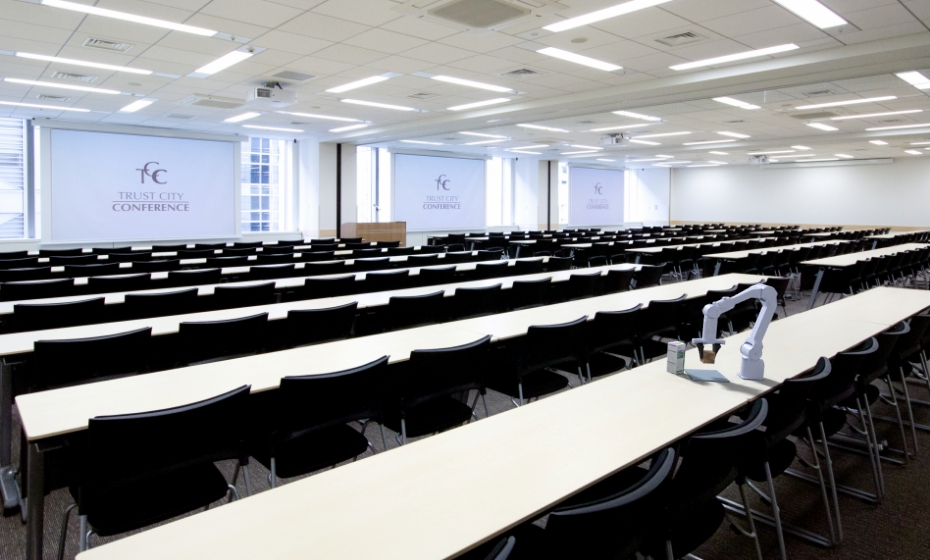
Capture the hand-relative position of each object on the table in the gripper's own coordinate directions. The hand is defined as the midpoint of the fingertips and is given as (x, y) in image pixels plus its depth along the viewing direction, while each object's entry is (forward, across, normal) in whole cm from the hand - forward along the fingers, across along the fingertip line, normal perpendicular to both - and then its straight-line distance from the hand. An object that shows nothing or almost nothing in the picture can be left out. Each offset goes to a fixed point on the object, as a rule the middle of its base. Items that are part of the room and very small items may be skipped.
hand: (707, 358), depth 273 cm
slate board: (+8, 0, 0) cm, 8 cm away
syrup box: (+9, -13, +4) cm, 16 cm away
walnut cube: (+2, 0, 0) cm, 2 cm away
